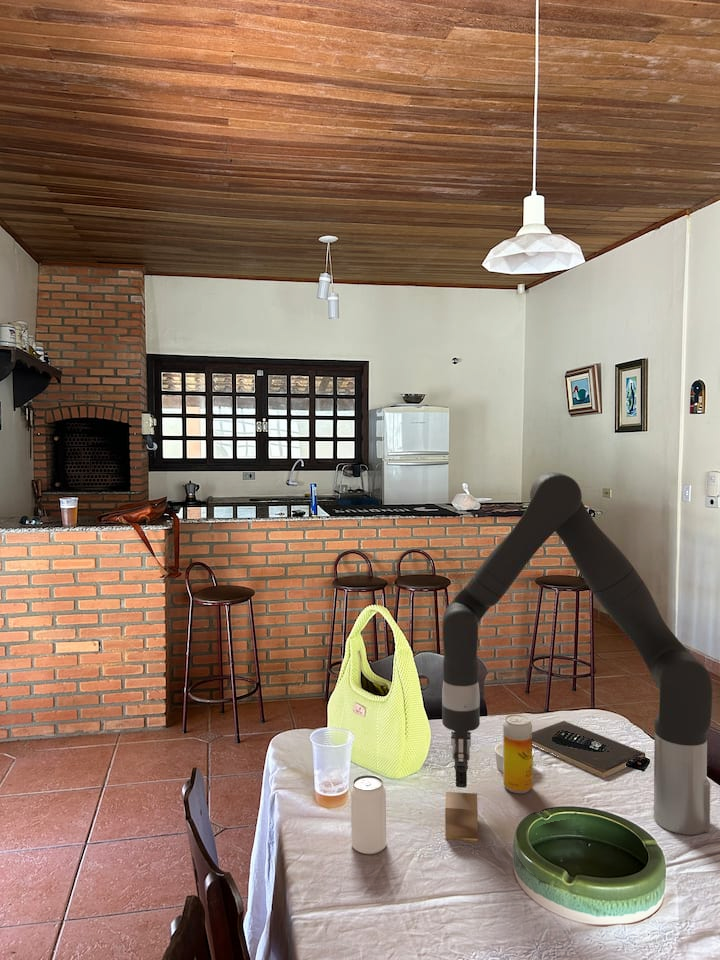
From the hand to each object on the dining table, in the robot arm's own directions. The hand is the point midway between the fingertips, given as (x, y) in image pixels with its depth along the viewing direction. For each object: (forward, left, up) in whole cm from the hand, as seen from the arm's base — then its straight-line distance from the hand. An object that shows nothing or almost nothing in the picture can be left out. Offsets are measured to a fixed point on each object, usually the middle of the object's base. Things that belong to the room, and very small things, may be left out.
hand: (461, 785), depth 139 cm
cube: (0, +9, -5) cm, 10 cm away
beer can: (-12, -9, -5) cm, 16 cm away
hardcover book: (-29, -29, -5) cm, 42 cm away
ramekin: (-12, -18, -5) cm, 23 cm away
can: (+17, +16, -5) cm, 23 cm away
